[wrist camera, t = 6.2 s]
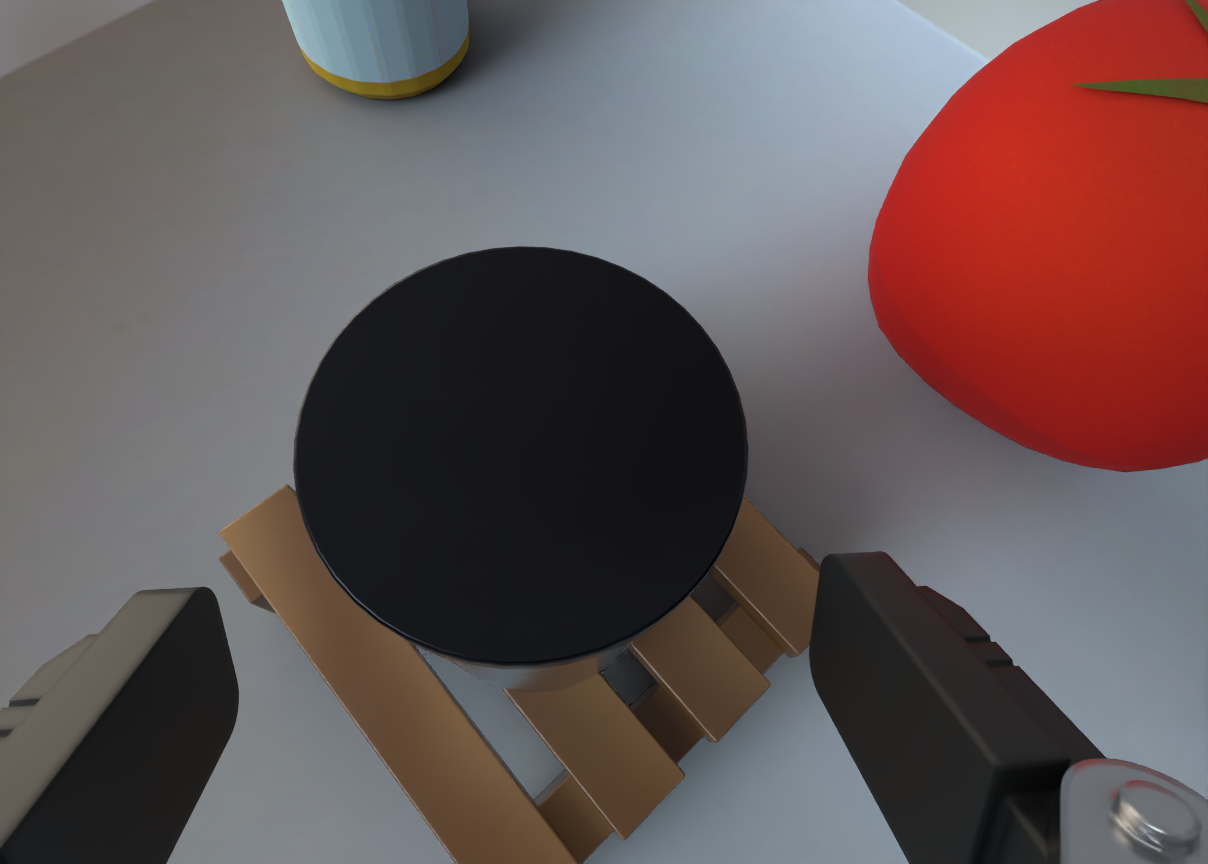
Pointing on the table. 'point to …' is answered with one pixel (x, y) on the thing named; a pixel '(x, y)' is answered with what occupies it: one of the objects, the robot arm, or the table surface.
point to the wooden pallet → (560, 717)
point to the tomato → (1064, 240)
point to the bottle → (381, 43)
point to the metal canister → (521, 461)
